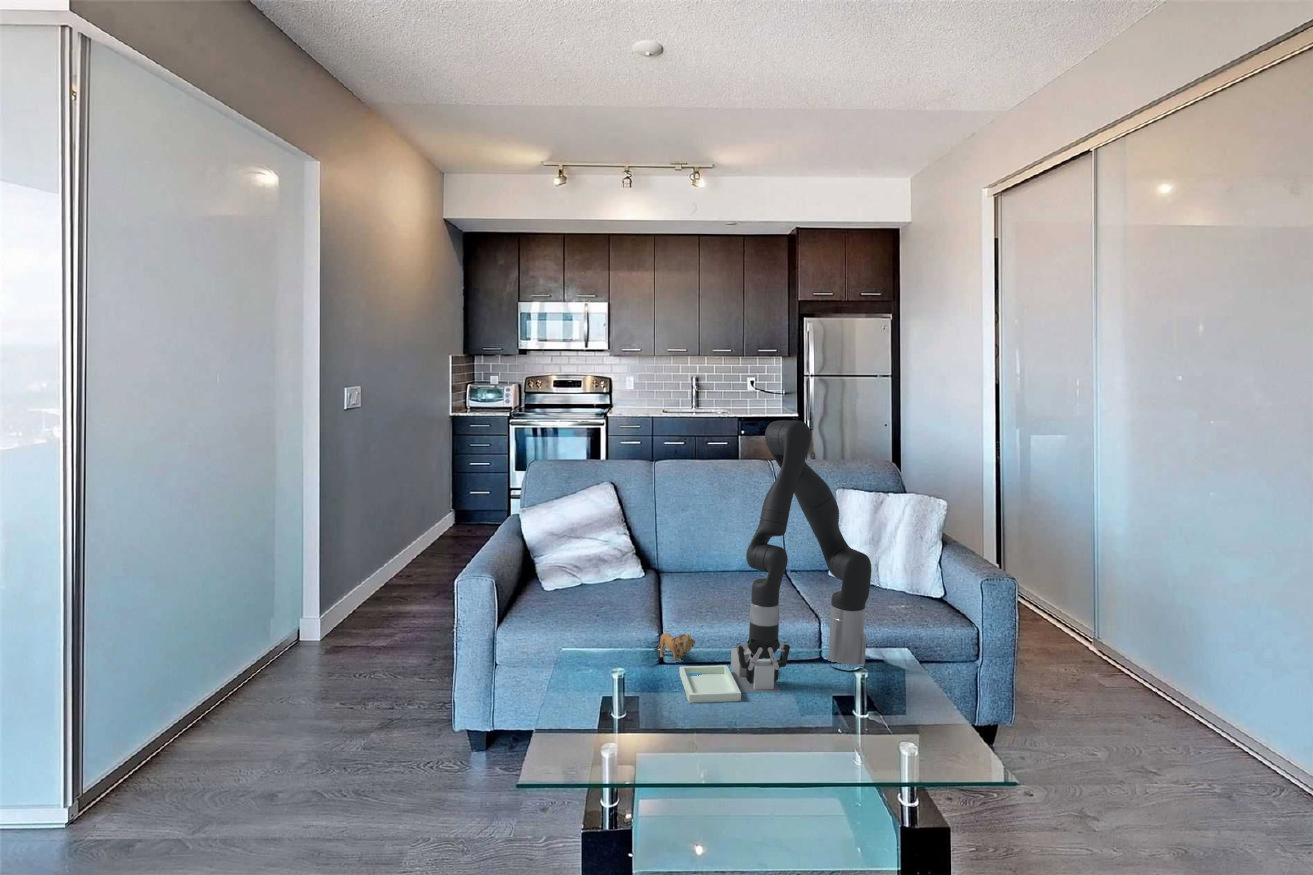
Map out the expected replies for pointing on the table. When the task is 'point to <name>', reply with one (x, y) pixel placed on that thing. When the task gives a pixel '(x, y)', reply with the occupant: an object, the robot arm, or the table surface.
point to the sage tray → (709, 684)
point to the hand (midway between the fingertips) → (761, 681)
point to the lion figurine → (676, 644)
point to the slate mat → (750, 685)
